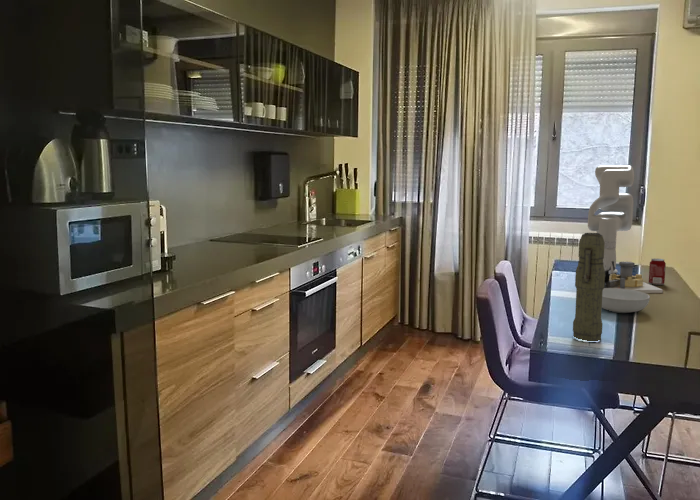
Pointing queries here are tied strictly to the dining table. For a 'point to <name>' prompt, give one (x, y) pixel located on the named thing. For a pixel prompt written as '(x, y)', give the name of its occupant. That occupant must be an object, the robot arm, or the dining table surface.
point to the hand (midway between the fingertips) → (604, 284)
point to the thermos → (589, 288)
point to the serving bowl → (624, 300)
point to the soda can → (657, 271)
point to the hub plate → (627, 271)
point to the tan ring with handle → (629, 281)
